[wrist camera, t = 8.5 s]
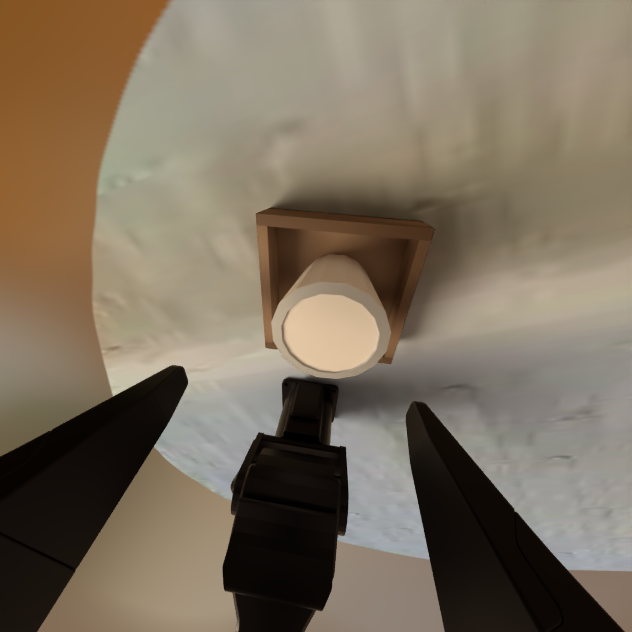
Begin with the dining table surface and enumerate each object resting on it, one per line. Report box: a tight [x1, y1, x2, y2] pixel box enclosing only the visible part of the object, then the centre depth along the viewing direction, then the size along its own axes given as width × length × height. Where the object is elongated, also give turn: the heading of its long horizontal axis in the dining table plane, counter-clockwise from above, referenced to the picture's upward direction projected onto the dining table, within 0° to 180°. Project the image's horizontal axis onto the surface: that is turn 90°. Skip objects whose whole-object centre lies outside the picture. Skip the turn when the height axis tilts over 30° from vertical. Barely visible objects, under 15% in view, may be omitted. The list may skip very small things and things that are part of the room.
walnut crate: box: [256, 208, 435, 364], centre depth 18 cm, size 11×11×3 cm
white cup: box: [271, 254, 391, 379], centre depth 16 cm, size 7×7×7 cm
